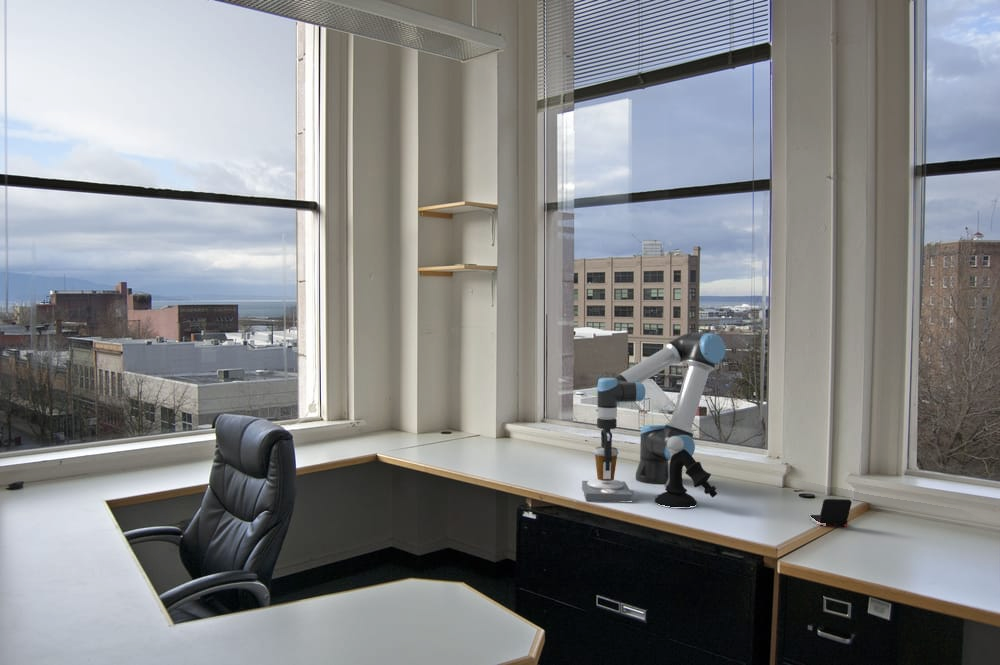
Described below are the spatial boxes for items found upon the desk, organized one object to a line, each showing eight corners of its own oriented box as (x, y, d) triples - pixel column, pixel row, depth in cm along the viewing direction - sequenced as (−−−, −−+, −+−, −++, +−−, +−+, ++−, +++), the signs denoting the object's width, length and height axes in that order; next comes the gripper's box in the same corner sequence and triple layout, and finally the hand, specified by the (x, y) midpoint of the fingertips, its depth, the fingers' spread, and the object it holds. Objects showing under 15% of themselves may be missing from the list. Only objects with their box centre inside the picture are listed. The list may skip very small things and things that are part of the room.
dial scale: (624, 489, 299) (624, 479, 299) (632, 502, 279) (632, 491, 279) (581, 488, 299) (582, 478, 299) (586, 501, 279) (586, 490, 279)
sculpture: (667, 495, 289) (669, 431, 288) (725, 507, 273) (727, 439, 272) (647, 503, 278) (648, 436, 277) (706, 516, 262) (708, 445, 261)
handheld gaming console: (836, 519, 261) (837, 490, 260) (851, 529, 249) (852, 500, 248) (809, 518, 261) (809, 490, 261) (823, 529, 249) (824, 499, 248)
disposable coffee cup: (599, 482, 286) (599, 451, 285) (589, 477, 295) (590, 446, 295) (622, 481, 288) (622, 450, 288) (611, 475, 298) (612, 445, 297)
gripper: (594, 413, 301) (593, 469, 302) (599, 421, 280) (598, 482, 281) (613, 414, 301) (612, 470, 302) (620, 422, 280) (618, 482, 281)
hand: (605, 475), depth 292 cm, fingers closed on disposable coffee cup, 8 cm apart
